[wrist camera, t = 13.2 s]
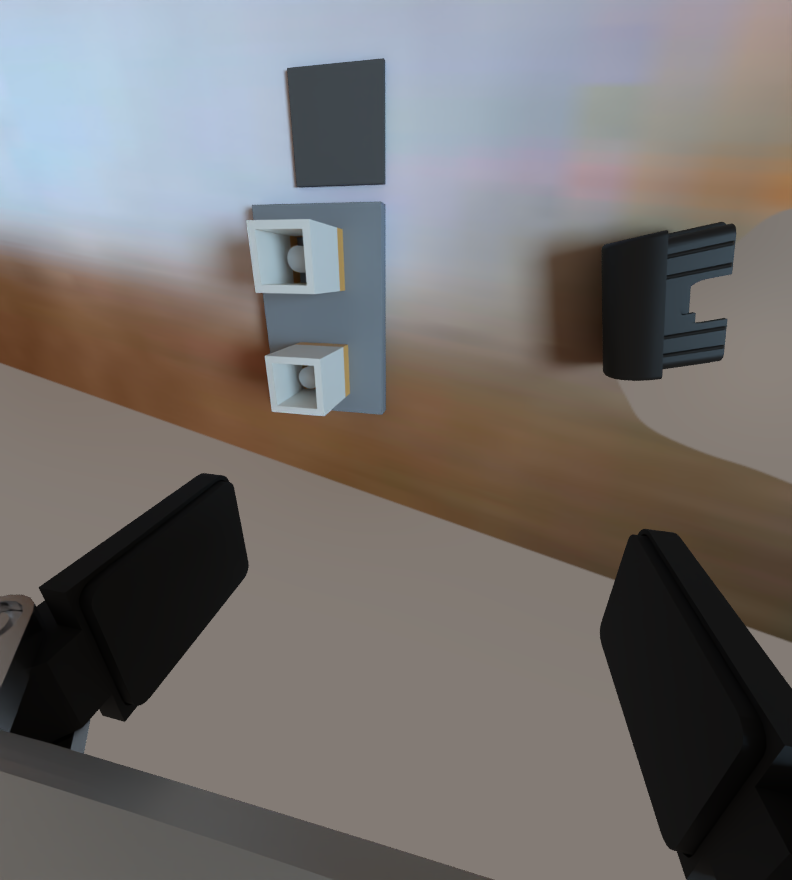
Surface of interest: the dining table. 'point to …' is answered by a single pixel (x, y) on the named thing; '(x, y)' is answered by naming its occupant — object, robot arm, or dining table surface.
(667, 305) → the end cap
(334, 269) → the seated sleeve
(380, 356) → the pin board
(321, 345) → the sleeve
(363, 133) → the mat
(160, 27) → the dining table surface
